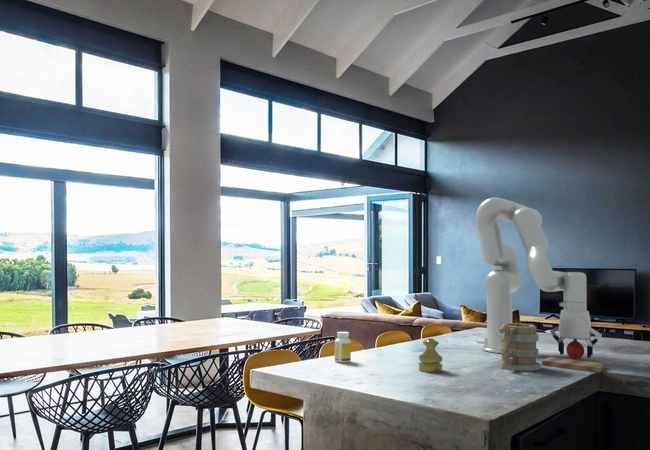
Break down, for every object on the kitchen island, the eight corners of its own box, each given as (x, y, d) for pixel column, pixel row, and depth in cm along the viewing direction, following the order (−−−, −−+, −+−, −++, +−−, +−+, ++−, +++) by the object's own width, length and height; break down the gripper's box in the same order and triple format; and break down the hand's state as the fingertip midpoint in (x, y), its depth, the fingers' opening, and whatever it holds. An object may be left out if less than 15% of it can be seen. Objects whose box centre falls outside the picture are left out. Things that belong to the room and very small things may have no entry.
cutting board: (541, 365, 188) (541, 360, 188) (549, 361, 196) (549, 356, 196) (600, 372, 177) (600, 367, 177) (605, 367, 185) (605, 363, 185)
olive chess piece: (428, 373, 170) (428, 340, 171) (413, 369, 177) (414, 337, 177) (447, 371, 173) (447, 339, 174) (432, 367, 180) (432, 336, 181)
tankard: (509, 362, 192) (510, 318, 193) (545, 368, 183) (545, 322, 184) (480, 369, 178) (480, 322, 179) (517, 376, 169) (517, 326, 170)
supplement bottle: (352, 361, 188) (353, 332, 189) (346, 363, 183) (347, 333, 184) (338, 359, 191) (338, 330, 191) (331, 362, 186) (332, 332, 186)
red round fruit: (586, 362, 194) (586, 339, 194) (568, 361, 195) (568, 339, 196) (581, 359, 200) (581, 337, 200) (564, 359, 201) (564, 336, 201)
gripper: (547, 305, 201) (547, 354, 200) (599, 309, 190) (600, 360, 189) (552, 304, 207) (552, 351, 206) (603, 307, 196) (604, 357, 195)
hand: (575, 355), depth 198 cm, fingers open, 8 cm apart
